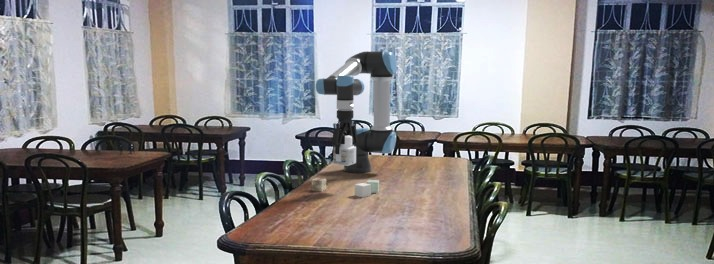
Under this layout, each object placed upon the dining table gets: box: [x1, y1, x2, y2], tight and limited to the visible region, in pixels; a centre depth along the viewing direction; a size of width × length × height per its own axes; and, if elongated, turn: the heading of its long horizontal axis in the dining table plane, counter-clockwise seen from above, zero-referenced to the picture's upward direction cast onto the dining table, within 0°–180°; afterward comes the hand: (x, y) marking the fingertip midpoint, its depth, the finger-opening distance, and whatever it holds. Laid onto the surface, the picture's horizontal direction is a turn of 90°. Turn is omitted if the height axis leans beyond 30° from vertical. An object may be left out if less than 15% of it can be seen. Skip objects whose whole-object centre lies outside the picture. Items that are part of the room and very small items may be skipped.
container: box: [332, 134, 356, 167], centre depth 236 cm, size 8×8×13 cm
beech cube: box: [311, 177, 327, 192], centre depth 239 cm, size 5×5×5 cm
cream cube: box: [354, 182, 372, 198], centre depth 229 cm, size 5×5×5 cm
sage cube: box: [366, 179, 380, 194], centre depth 236 cm, size 5×5×5 cm
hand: (344, 159), depth 236 cm, fingers closed on container, 8 cm apart
